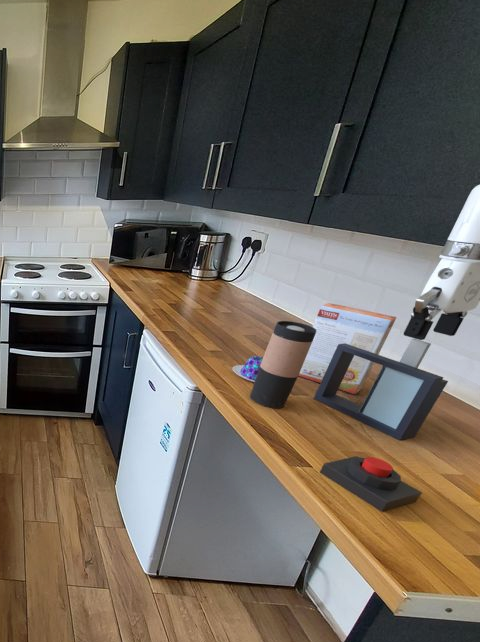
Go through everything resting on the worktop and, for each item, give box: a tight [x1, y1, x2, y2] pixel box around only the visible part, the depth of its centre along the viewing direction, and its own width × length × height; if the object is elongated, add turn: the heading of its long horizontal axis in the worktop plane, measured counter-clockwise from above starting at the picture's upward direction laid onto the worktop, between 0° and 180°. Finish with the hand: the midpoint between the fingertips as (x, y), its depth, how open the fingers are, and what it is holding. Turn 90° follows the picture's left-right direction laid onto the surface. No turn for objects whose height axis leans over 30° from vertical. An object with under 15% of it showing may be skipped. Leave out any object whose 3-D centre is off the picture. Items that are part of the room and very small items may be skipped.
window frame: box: [313, 343, 449, 441], centre depth 92 cm, size 18×5×15 cm, turn 17°
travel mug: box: [249, 320, 316, 409], centre depth 96 cm, size 8×8×20 cm
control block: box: [319, 455, 423, 513], centre depth 72 cm, size 10×9×4 cm
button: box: [361, 456, 394, 478], centre depth 71 cm, size 4×4×2 cm
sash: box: [399, 338, 432, 369], centre depth 88 cm, size 7×1×19 cm, turn 17°
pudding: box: [232, 355, 264, 383], centre depth 111 cm, size 12×12×5 cm
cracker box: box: [298, 302, 397, 395], centre depth 107 cm, size 14×6×21 cm, turn 34°
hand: (428, 335), depth 83 cm, fingers open, 9 cm apart
